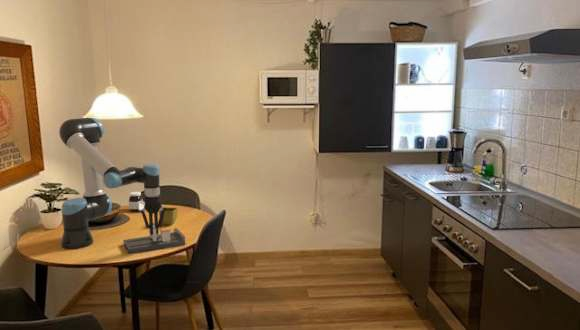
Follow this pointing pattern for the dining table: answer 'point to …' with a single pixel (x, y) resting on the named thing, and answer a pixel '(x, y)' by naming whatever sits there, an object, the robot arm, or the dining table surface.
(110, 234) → the dining table surface
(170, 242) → the grey tray
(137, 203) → the spread jar
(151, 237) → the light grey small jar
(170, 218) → the flower pot
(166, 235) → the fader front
